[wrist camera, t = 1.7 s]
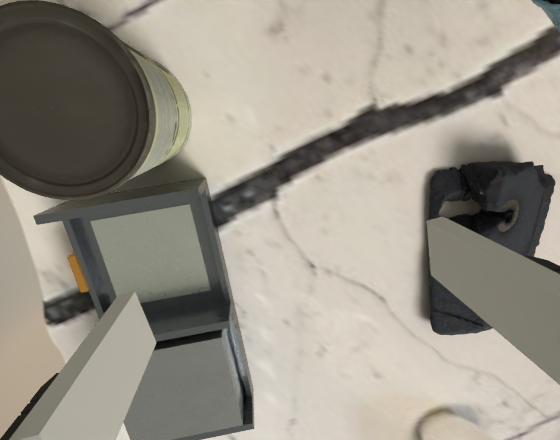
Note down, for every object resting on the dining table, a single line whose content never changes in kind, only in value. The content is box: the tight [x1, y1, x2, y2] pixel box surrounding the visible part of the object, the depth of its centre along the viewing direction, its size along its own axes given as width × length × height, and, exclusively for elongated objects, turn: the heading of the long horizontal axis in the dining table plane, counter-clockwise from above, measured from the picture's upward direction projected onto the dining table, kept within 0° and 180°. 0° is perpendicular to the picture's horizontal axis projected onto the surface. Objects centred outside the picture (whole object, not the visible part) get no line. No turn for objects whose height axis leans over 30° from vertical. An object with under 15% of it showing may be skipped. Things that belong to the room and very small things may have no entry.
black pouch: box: [428, 161, 555, 335], centre depth 37 cm, size 15×22×5 cm
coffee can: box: [0, 0, 192, 200], centre depth 24 cm, size 10×10×14 cm
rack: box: [34, 178, 254, 440], centre depth 34 cm, size 28×15×6 cm, turn 9°
